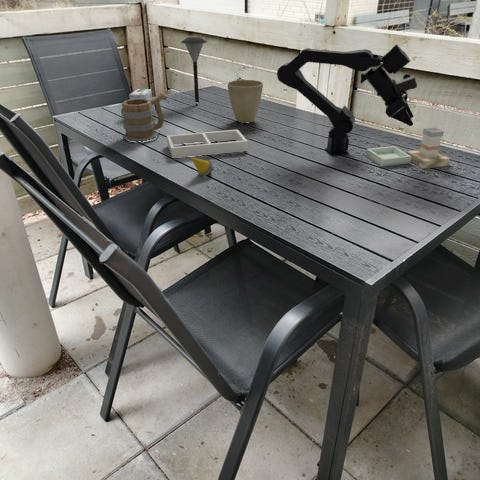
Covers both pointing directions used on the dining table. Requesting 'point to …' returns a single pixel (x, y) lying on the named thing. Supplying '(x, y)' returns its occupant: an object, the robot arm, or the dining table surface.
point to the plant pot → (245, 98)
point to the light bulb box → (141, 94)
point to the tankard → (142, 118)
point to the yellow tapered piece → (202, 166)
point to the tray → (388, 156)
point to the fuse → (430, 142)
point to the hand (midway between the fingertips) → (412, 121)
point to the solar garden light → (194, 57)
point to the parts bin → (207, 143)
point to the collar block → (428, 160)
